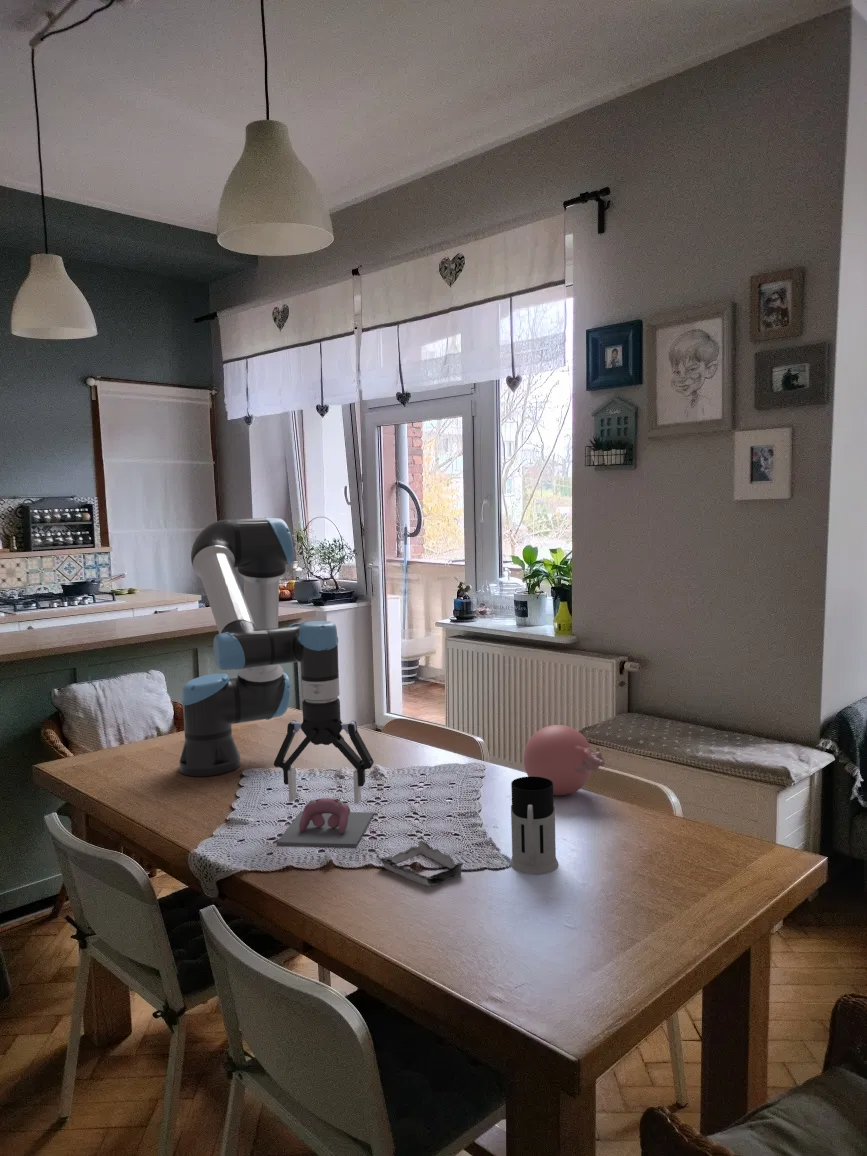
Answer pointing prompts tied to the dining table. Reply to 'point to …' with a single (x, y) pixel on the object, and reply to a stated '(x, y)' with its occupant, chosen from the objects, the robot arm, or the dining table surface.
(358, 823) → the charcoal mat
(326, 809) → the video game controller
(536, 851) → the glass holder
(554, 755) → the balloon
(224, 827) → the dining table surface
